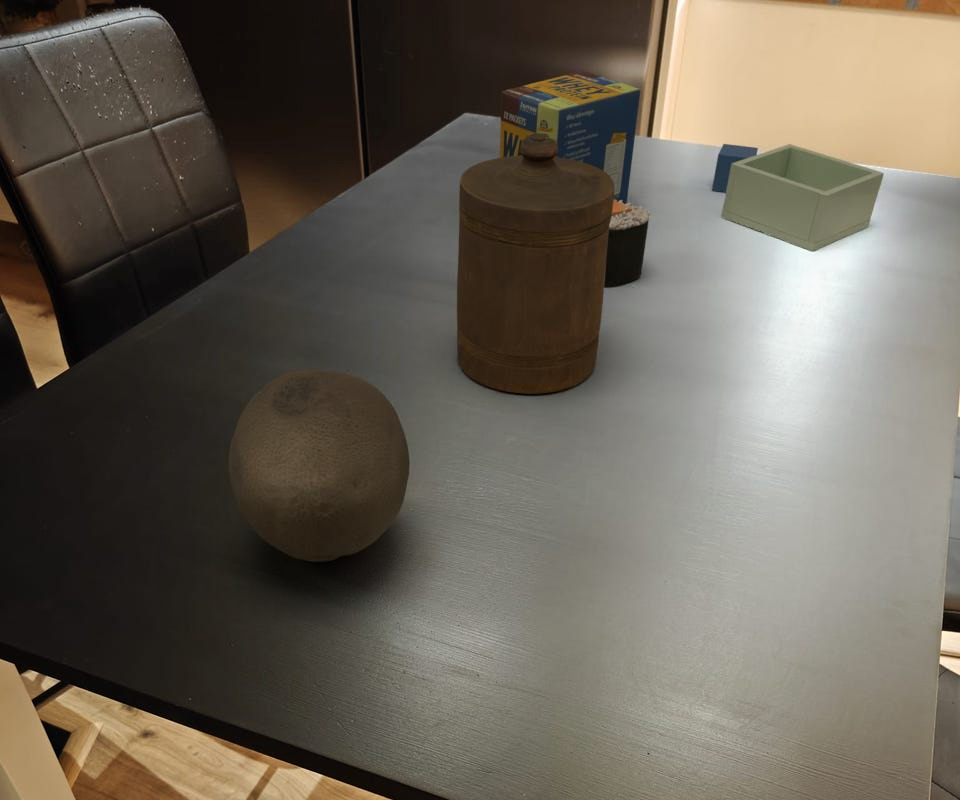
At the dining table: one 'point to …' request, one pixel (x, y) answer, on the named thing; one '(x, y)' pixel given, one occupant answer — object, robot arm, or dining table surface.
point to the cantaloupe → (319, 464)
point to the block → (729, 163)
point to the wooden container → (531, 268)
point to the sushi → (625, 243)
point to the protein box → (576, 121)
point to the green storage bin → (801, 196)
